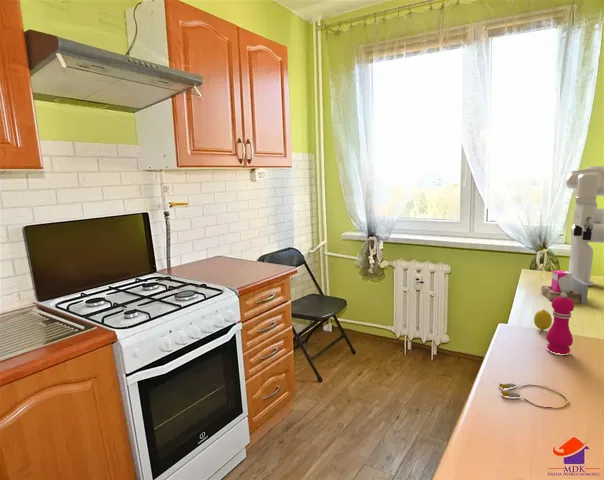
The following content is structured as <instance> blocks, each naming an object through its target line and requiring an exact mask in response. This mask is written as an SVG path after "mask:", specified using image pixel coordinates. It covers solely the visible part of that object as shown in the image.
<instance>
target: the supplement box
mask: <svg viewBox="0 0 604 480" xmlns="http://www.w3.org/2000/svg"><path fill="white" fill-rule="evenodd" d="M571 276H572V273H570V272H569V271H567V270H552V273H551V285H550V286H551V290H552V291H554V292H565V293H570V289H571Z"/></svg>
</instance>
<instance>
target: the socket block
mask: <svg viewBox="0 0 604 480" xmlns="http://www.w3.org/2000/svg"><path fill="white" fill-rule="evenodd" d="M561 293H562V292H554V291H552V290H551V285H542V286H541V295H542V296H543V297H544V298H546V299H547V300H548V301H550V302H551V303H552V301H553V299H554V298H556V297H561V296H560V294H561ZM566 294H567V298H569V299H571V300H572V301H573V303H574V304H581V303H580V298H581V294H580V293H578V292H576V291H575V290H573V289H572V288H571V289H570V293H566Z"/></svg>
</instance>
